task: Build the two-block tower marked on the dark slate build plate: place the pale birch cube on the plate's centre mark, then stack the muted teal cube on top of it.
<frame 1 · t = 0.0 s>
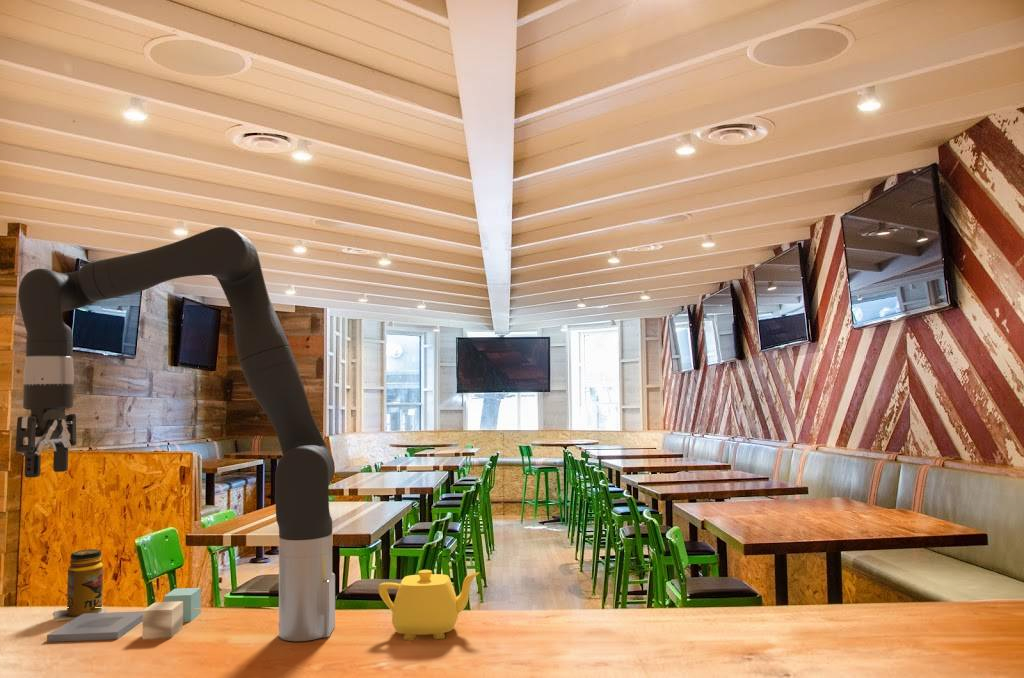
hand: (46, 474, 127), 29 cm above the table, fingers open, 8 cm apart
block birch: (162, 634, 130), on the table
condiment: (79, 614, 143), on the table
teapot: (429, 633, 128), on the table
block teal: (182, 618, 139), on the table
build plate: (99, 629, 133), on the table
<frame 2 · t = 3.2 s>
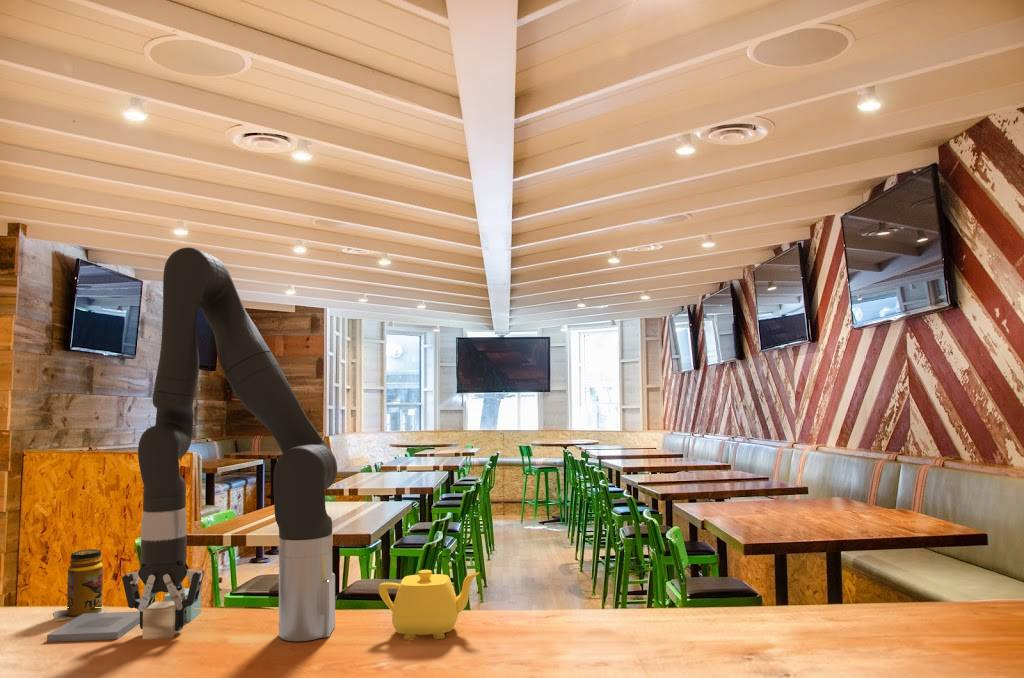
hand: (163, 629, 130), 1 cm above the table, fingers closed on block birch, 5 cm apart
block birch: (163, 633, 130), on the table, touching gripper
everything else where it was.
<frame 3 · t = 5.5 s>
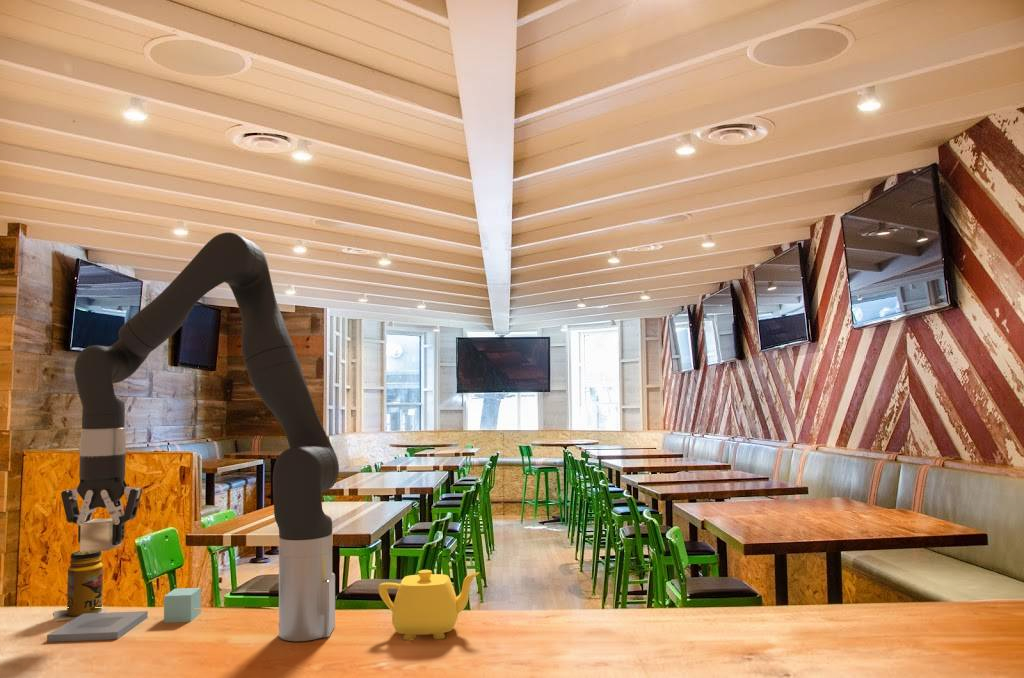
hand: (101, 544, 134), 15 cm above the table, fingers closed on block birch, 5 cm apart
block birch: (101, 548, 134), point 15 cm above the table, touching gripper
everything else where it was.
when the fingers open (2 cm above the table, at t = 7.9 s): block birch stays where it is, resting on build plate.
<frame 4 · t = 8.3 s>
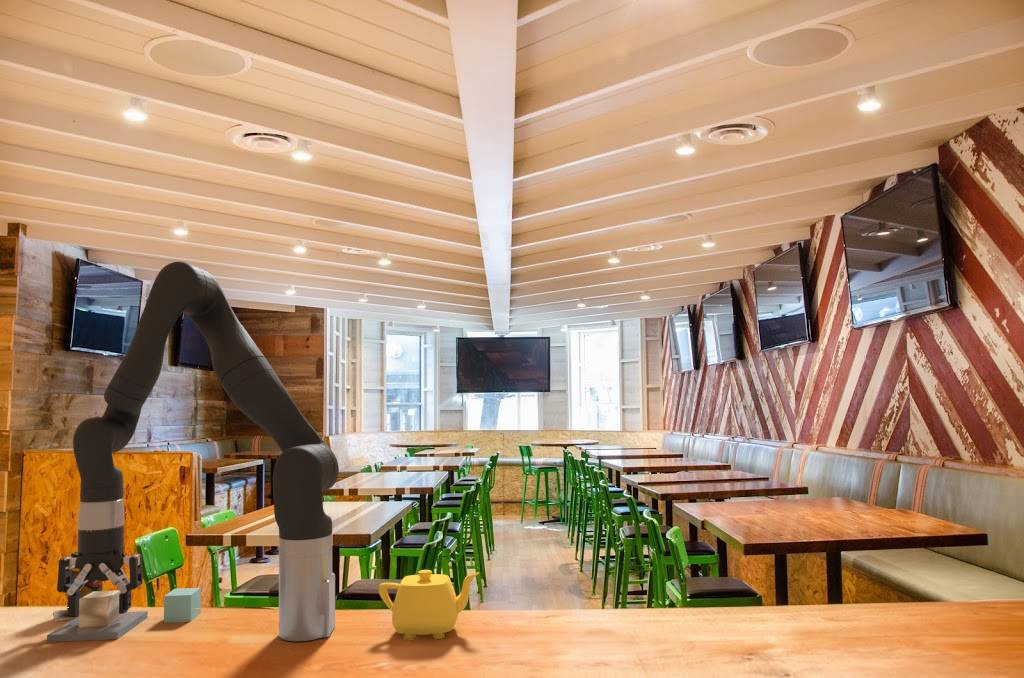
hand: (99, 613, 133), 3 cm above the table, fingers open, 8 cm apart
block birch: (100, 622, 133), point 1 cm above the table, touching build plate
everything else where it was.
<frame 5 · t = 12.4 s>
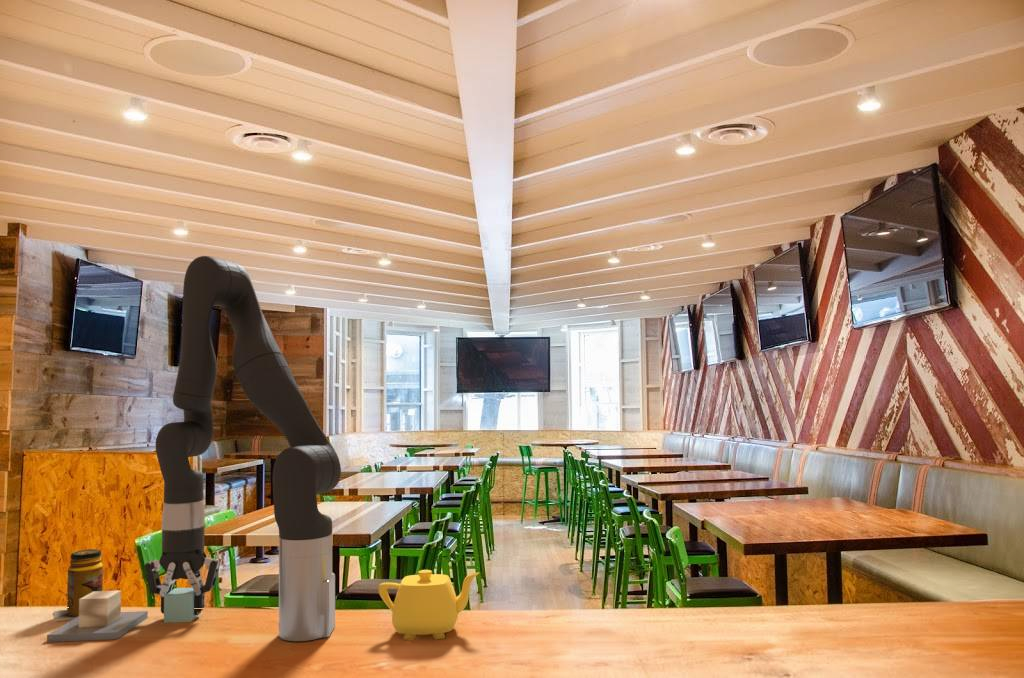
hand: (182, 614, 139), 1 cm above the table, fingers closed on block teal, 5 cm apart
block teal: (182, 617, 139), on the table, touching gripper
everything else where it was.
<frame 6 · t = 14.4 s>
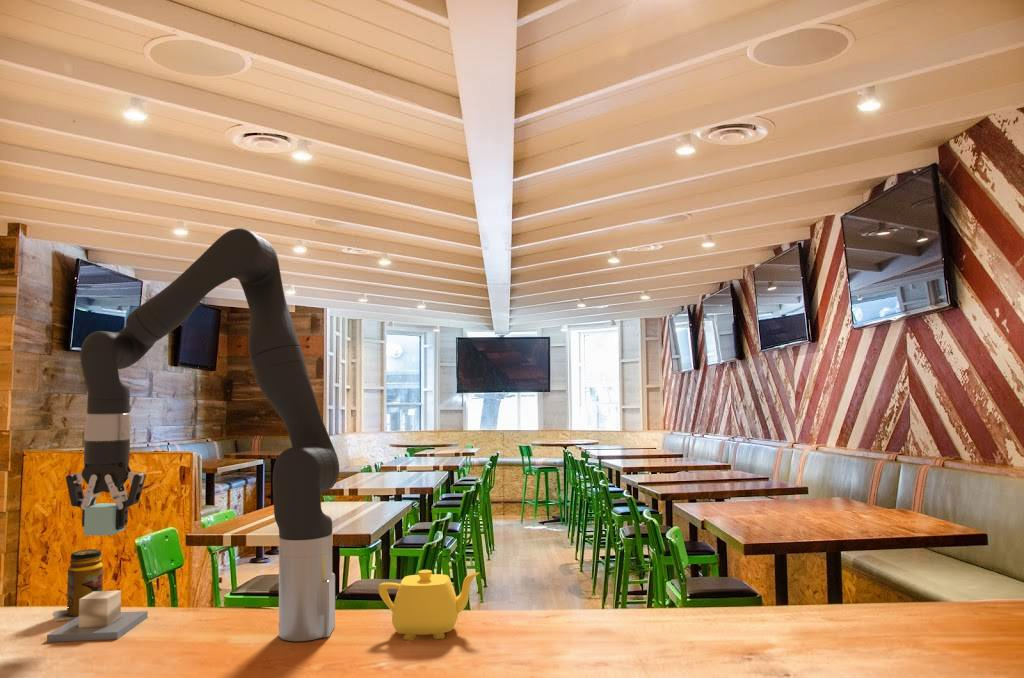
hand: (104, 528, 135), 18 cm above the table, fingers closed on block teal, 5 cm apart
block teal: (104, 532, 135), point 17 cm above the table, touching gripper
everything else where it was.
when the fingers open (7 cm above the table, at t = 16.8 s): block teal stays where it is, resting on block birch.
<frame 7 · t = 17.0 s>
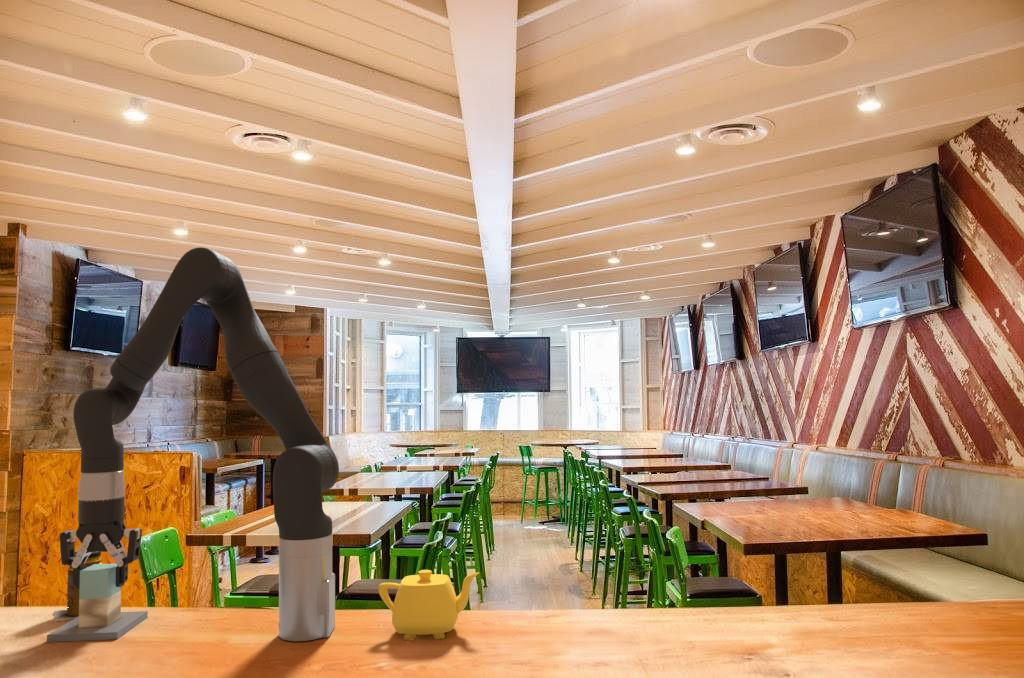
hand: (100, 586, 133), 8 cm above the table, fingers open, 6 cm apart
block birch: (100, 622, 133), point 1 cm above the table, touching block teal, build plate
block teal: (100, 594, 133), point 6 cm above the table, touching block birch
everything else where it was.
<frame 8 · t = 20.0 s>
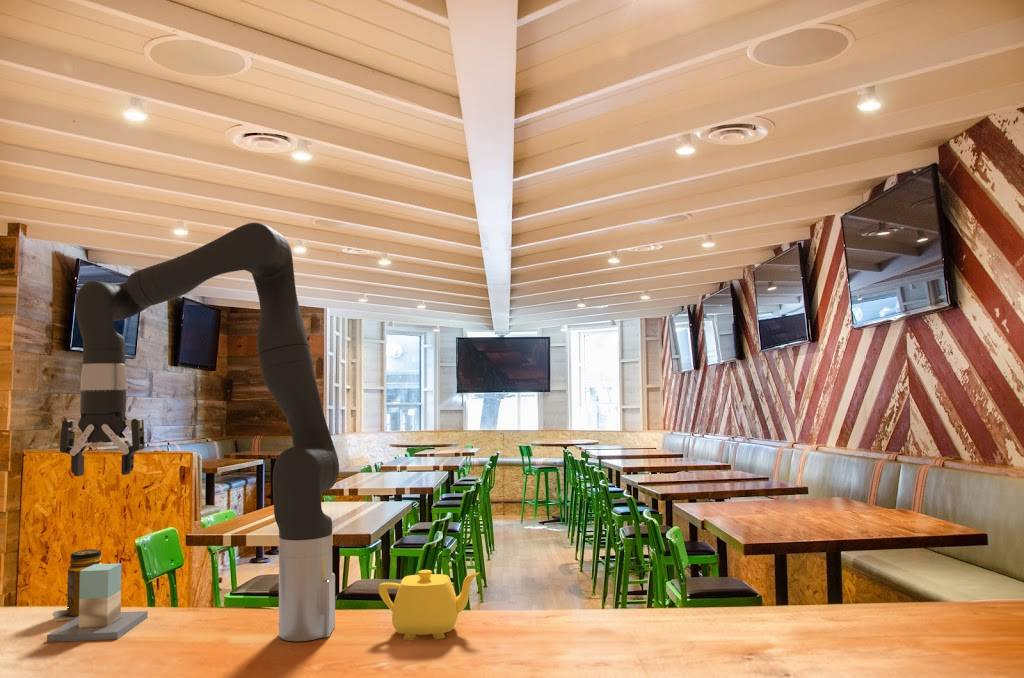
hand: (102, 475, 135), 28 cm above the table, fingers open, 8 cm apart
nothing on the table moved.
at the end: block teal 0.1 cm off-centre on the block birch, point 5.0 cm above the block birch's base; block birch inside the target area on the build plate (0.1 cm from its centre), point 1.2 cm above the build plate's base; the gripper is holding nothing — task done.
